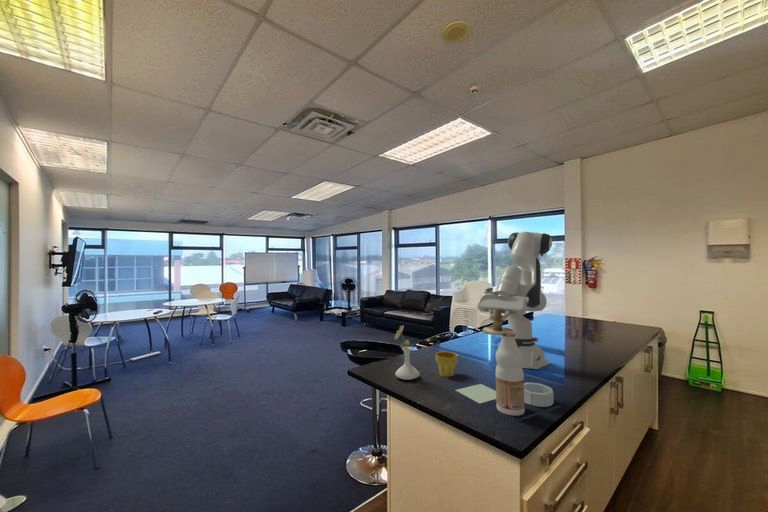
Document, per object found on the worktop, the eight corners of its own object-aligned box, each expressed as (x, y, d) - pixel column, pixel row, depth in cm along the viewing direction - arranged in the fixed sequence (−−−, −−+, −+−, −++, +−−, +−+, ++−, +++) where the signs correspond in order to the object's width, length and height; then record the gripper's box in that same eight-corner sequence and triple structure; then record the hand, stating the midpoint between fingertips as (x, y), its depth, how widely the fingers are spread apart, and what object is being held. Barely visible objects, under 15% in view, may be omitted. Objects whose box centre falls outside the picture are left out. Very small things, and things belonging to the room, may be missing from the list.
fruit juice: (492, 411, 109) (490, 332, 110) (501, 402, 116) (499, 328, 117) (520, 420, 103) (517, 336, 104) (528, 409, 110) (525, 331, 111)
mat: (480, 385, 133) (480, 383, 133) (506, 397, 120) (506, 395, 120) (455, 391, 127) (455, 390, 127) (479, 405, 114) (479, 403, 114)
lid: (497, 328, 136) (496, 306, 136) (519, 333, 125) (518, 310, 126) (476, 331, 131) (476, 309, 131) (498, 336, 120) (497, 312, 120)
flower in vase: (406, 371, 151) (405, 321, 152) (424, 377, 143) (423, 323, 144) (387, 378, 142) (387, 324, 143) (406, 385, 134) (405, 328, 135)
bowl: (533, 393, 124) (533, 380, 124) (559, 404, 114) (559, 390, 114) (514, 399, 119) (513, 386, 119) (539, 410, 109) (539, 396, 109)
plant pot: (458, 379, 140) (458, 358, 140) (435, 378, 142) (435, 357, 142) (457, 371, 150) (457, 351, 150) (436, 370, 152) (435, 351, 152)
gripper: (531, 300, 130) (524, 327, 122) (485, 297, 144) (476, 321, 136) (527, 290, 127) (520, 317, 119) (481, 289, 141) (471, 313, 133)
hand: (496, 319), depth 128 cm, fingers closed on lid, 3 cm apart
